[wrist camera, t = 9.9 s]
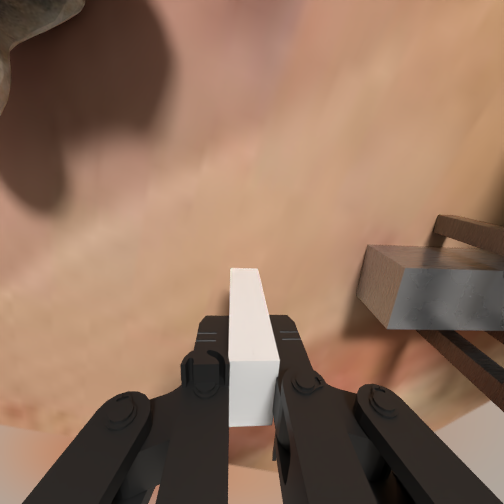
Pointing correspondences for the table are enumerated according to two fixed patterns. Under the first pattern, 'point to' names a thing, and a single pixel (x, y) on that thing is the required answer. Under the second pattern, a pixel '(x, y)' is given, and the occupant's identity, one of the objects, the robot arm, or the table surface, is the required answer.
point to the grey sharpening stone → (433, 287)
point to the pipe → (28, 29)
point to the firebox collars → (467, 355)
